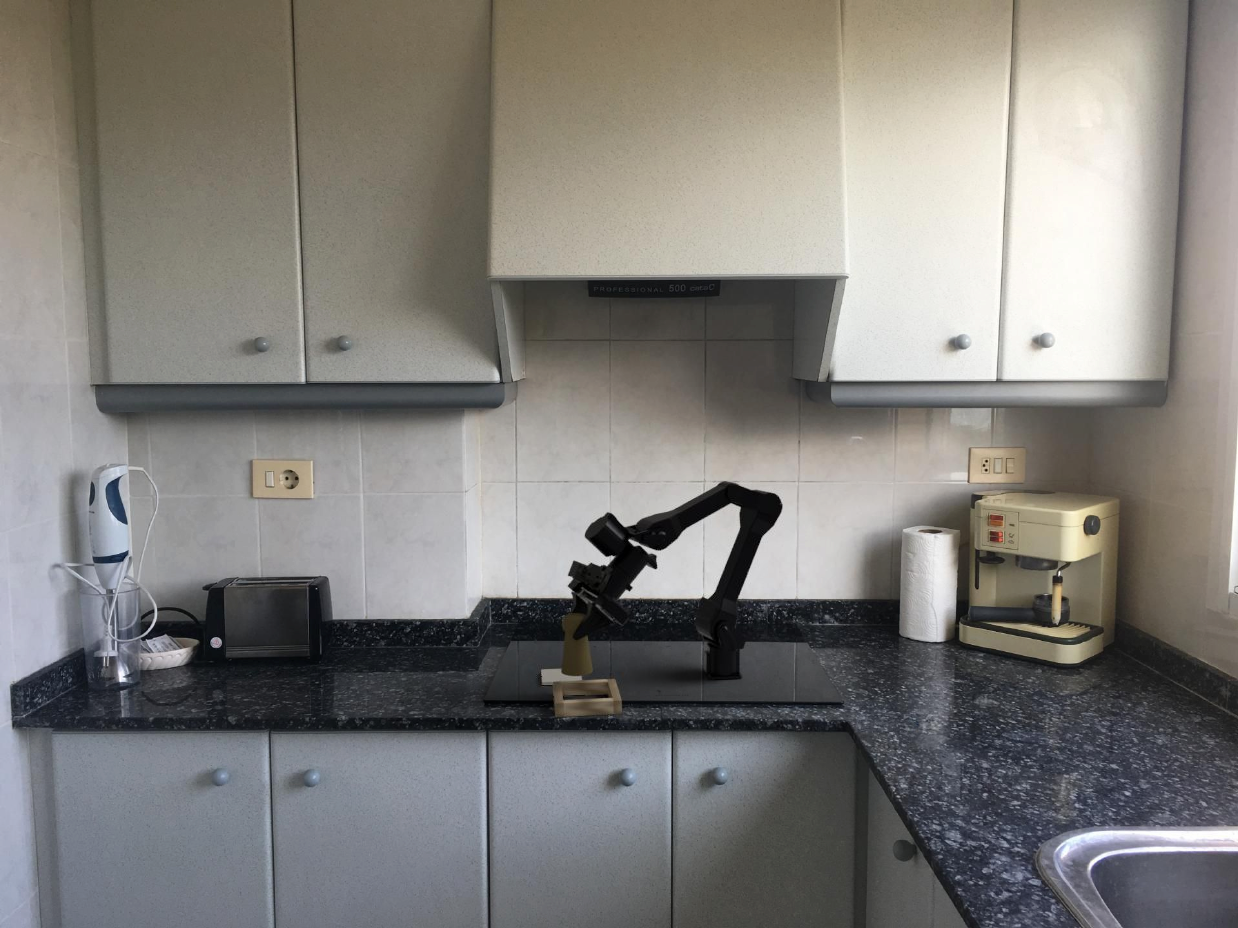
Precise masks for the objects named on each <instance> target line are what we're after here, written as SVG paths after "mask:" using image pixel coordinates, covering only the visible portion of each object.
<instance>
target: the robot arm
mask: <svg viewBox="0 0 1238 928" xmlns="http://www.w3.org/2000/svg"><path fill="white" fill-rule="evenodd" d="M729 505H734V506H736V507H738V508H739V514H738V515H739V516H738V517H739V530H738V533H737V535H736V538H735V540H734V543H733V546H732V548H731V549H730V552H729V555H728V558H727V560H726V563H725V565H724V567H723V570H722V574H721V575H720V578H719V580H718V583H717V585H716V588H715V590H714V592H713V593H712V595H710V596H709V597H708V598H706V597H703V596H702V597H701V598H700V600H699V604H698V606H697V610H695V612H694V613H693V615H694V616H695V618H694V625H695V628H696V631H697V632H698V633H699V634H701V638H702V641H703V642H706V650H704V651H703V671H704V672H705V673H706V675H708V677H709V679H711V680H727V679H729V680H730V679H742V678H743V674H742V673H741V662H740V661H741V658H740V657H741V656H740V655H741V650H743V649H744V648H745V646H746V645H745V644H746V641H747V638H746V637H745V636H744V635H743V634H742V633H741V632H740V631H738V629H737V628H736V627H737V622H738V618H739V617H738V616H739V615H738V600H739V597H740V594H741V592H742V589H743V587H744V585H745V582H746V580H747V577H748V574H749V571H750V569H751V567H752V564H753V562H754V559H755V556H756V554H757V551H758V549H759V547H760V544H761V541H762V539H763V538H764V536H765V535H766V534H767V533H768V532H769V531H770V530H771V529H772V528H773V527H775V524H777V521H778V519H780V516H781V514H782V512H783V505H784V504H783V503H782V500H781V498H780V496H779V495H778V494H777V493H773V492H770V491H765V490H760V489H750V488H747V487H745V486H743V485H740V484H739V483H736V482H732V481H729V480H724V481H721V482H719V483H717V485H716V486H714V487H711V488H710V489H708V490H707V491H705V492H702V493H701V494H700V495H697V496H696V497H694V498H692V499H690V500H689V501H687V502H684V503H683V504H681V505H680V506H677V507H676V508H674V509H671V510H669V511H664V512H659V513H654V514H652V515H649V516H645V517H643V518H640V519H639V520H638V521H637V522H636V523H635V524H631V525H628V526H624V525H623V524H622V523H621V522H620V521H619V520H618V518H617V516H615V514H613V513H612V512H609V511H607V512H606V513H605V514H604V515H603V516H600V517H599V518H597V519H596V520H595V521H594V522H591V523H590V524H589V526H588V527H587V529H586V530H585V533H584V538H585V539H586V540H587V541H588V542H589V543H590V545H591V544H592V546H594V547H595V548H596V550H598V551H599V553H601V554H602V555H603V556H604V557H605V558H608V557H609V558H610V557H613V559H612V560H611V561H609V563H608V564H607V565H606V564H601V565H598V564H595V563H593V562H590V563H589V564H585V563H582V562H579V561H577V560H573V561H572V563H571V566H570V568H569V571H568V574H567V576H568V577H570V578H571V579H572V580H571V581H570V582H569V583H568V584H567V588H569V589H570V591H571V595H572V606H571V609H570V611H569V613H568V614H572V613H581V614H585V615H586V616H585V617H584V619H583V620H582V622H581V623H580V625H579V626H578V628H577V629H576V631H575V633H574V634H573V636H572V638H573V639H574V640H576V641H577V640H579V639H581V638H583V637H585V636H587V637H588V636H589V635H592V634H593V633H595V632H597V631H600V630H602V629H605V628H606V627H609V626H611V625H612V626H614V625H615V622H616V623H617V624H619V625H620V626H622V627H623V626H624V625H625V624H626V623H627V622H628V621H629V619H630V611H629V610H628V609H627V608H626V607H625V606H623V604H622V603H621V602H619V599H620V598H621V597H622V596H623V594H624V593H625V592H626V591H627V592H631V591H632V590H633V589H634V587H633V586H632V585H631V584H632V583H633V582H634V581H635V580H636V579H637V578H638V576H639V574H640V573H641V572H642V571H643V570H644V569H645V568H646V566H647V567H649V568H650V569H653V570H657V569H658V562H657V558H658V556H657V555H656V554H654V553H652V552H651V553H649V552H647V551H646V550H645V549H644V548H643V546H644V547H646V548H648V549H650V550H654V551H657V552H658V551H659V552H661V551H663V550H666V549H667V548H669V546H671V545H672V544H673V543H674V542H676V541H677V540H678V539H679V537H680V536H681V535H682V533H683V532H684V531H686V529H688V528H690V527H691V526H693V525H696V524H697V523H699V522H700V521H702V520H704V519H706V518H708V517H710V516H711V515H713V514H715V513H717V512H718V511H720V510H721V509H723V508H725V507H728V506H729ZM629 540H630V541H629ZM631 541H633V542H636V543H637V544H639V545H634V544H633V543H632V542H631ZM613 620H615V622H614V621H613ZM562 631H563V632H564V633H565V631H564V630H563V629H562Z"/></svg>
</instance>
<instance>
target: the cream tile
mask: <svg viewBox="0 0 1238 928" xmlns="http://www.w3.org/2000/svg"><path fill="white" fill-rule="evenodd" d="M561 669H562V668H545V669H543V668H542V669H540V672H541V673H540V675H541V676H542V677H541V686H542V685H553V682H557V681H579V680H583V678H582V677H583V676H568V675H564V674H562V673H561Z"/></svg>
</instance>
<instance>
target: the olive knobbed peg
mask: <svg viewBox="0 0 1238 928" xmlns="http://www.w3.org/2000/svg"><path fill="white" fill-rule="evenodd" d="M585 616H586V615H585V614H581V613H572V614H569V613H568V614H566V615H564V616H563V618H562V621H561V628H562V631H563V630H564V631H565V632H564V631H563V632H564V642H563V643H564V644H563V652H562V660H561V661H562V662H561V668H560V669H561V673H562V674H564V675H568V676H582V677H583V676H587V675H590V674H592V673H593V671H594V669H593V664H592V658H591V657H592V656H591V650H590V644H589V638H588V635H587V636H585V637H583V638H581V639H579V640H577V641H576V640H574V639H573V638H572V636H573V634H574V633H575V631H576V629H577V628H578V626H579V625H580V623H581V622H582V620H583V619H584V617H585Z"/></svg>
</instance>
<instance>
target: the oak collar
mask: <svg viewBox="0 0 1238 928" xmlns="http://www.w3.org/2000/svg"><path fill="white" fill-rule="evenodd" d="M604 694H606V695H608V697H607V698H605V697H603V698H600V697H599V698H582V699H565V700H564V697H563V695H585V696H600V695H601V696H602V695H604ZM552 695H553V696H554V698H553V707H554V715H555V718H564V717H566V718H567V717H568V718H569V717H581V716H583V717H585V716H601V715H602V716H604V715H622V714H623V710H622V709H623V706H622V704H623V703H622V698H621V694H620V691H619V687H618V685H617V681H616V678H607V679H606V678H605V679H604V678H602V679H584V680H583V679H582V680H579V681H557V682H553V686H552ZM553 696H552V697H553Z"/></svg>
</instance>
